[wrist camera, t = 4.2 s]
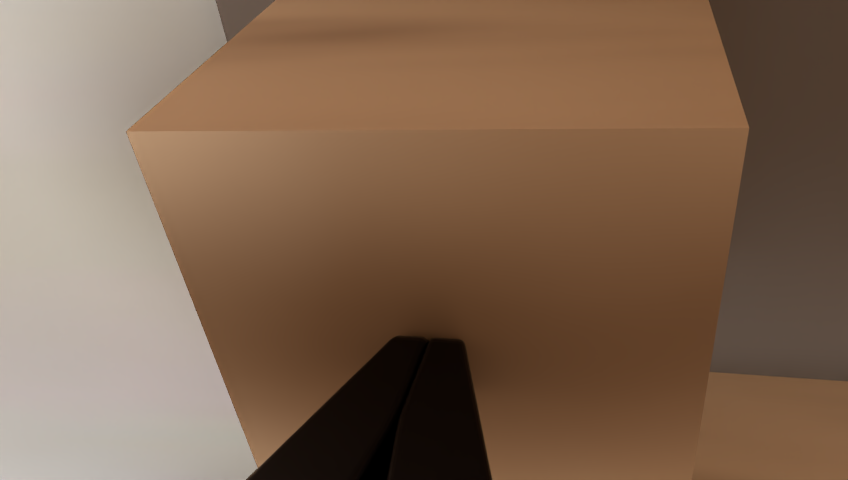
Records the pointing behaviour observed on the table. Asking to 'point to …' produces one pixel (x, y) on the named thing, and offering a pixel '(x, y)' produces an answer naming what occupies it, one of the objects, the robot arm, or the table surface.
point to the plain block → (464, 214)
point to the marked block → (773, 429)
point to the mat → (773, 186)
